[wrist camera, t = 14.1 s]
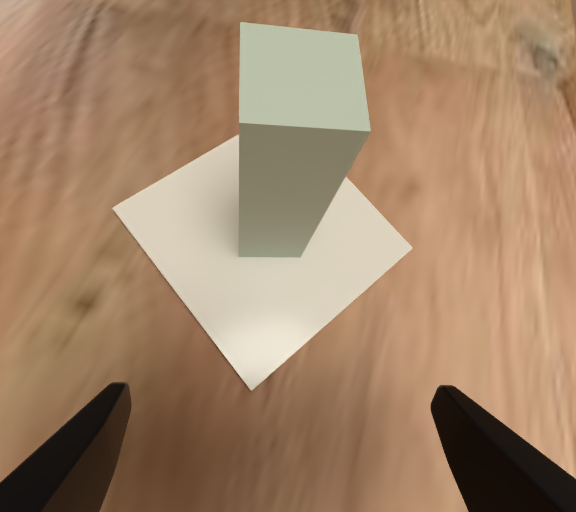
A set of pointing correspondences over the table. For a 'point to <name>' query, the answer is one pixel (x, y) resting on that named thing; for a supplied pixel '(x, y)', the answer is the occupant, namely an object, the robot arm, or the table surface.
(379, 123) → the table surface
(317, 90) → the block
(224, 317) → the tile
